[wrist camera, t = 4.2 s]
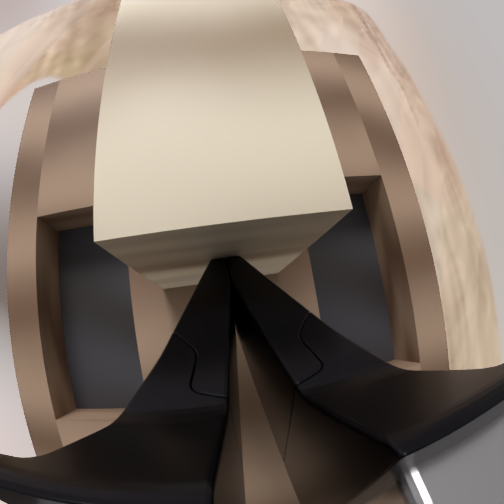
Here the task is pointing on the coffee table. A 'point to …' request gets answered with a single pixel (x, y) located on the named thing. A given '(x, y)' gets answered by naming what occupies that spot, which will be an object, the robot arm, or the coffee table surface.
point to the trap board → (176, 299)
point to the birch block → (211, 141)
